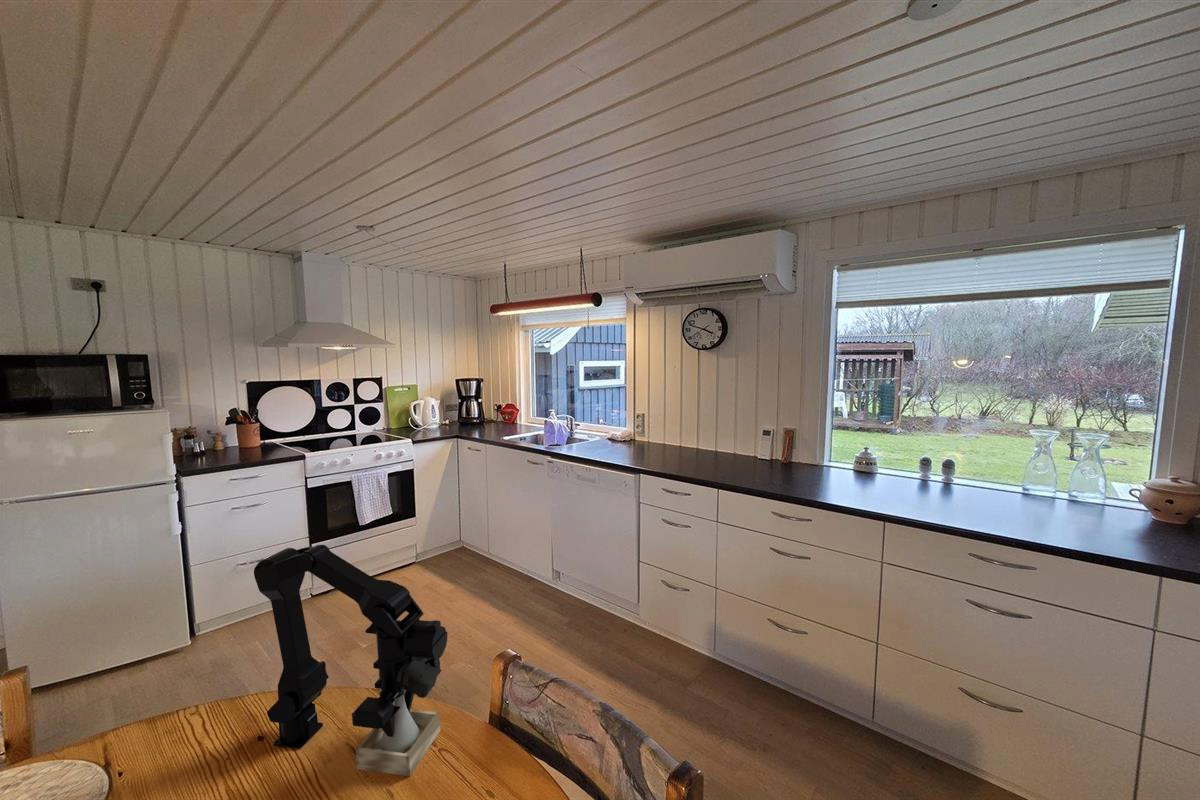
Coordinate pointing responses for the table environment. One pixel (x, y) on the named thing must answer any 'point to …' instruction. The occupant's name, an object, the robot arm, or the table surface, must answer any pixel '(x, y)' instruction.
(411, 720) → the flask
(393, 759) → the crate
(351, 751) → the table surface
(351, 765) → the table surface
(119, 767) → the table surface
